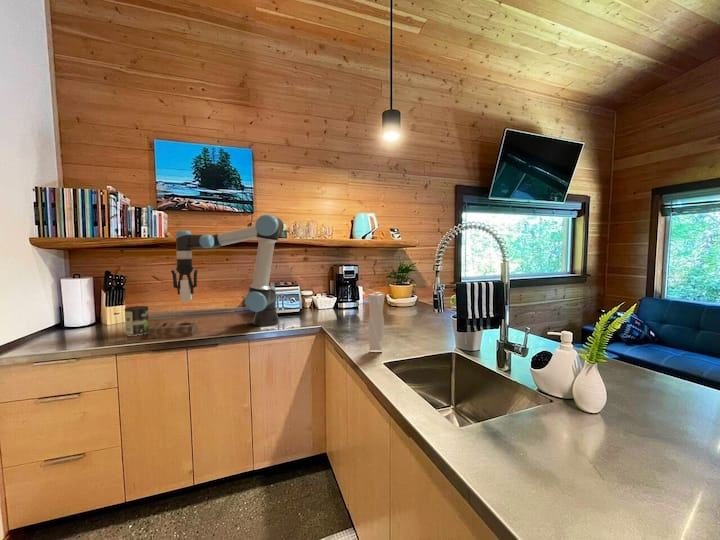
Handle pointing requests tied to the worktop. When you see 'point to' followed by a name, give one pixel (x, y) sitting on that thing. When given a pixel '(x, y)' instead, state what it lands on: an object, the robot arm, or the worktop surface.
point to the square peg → (184, 290)
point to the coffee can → (136, 320)
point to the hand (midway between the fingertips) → (185, 299)
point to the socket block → (173, 329)
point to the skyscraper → (376, 320)
